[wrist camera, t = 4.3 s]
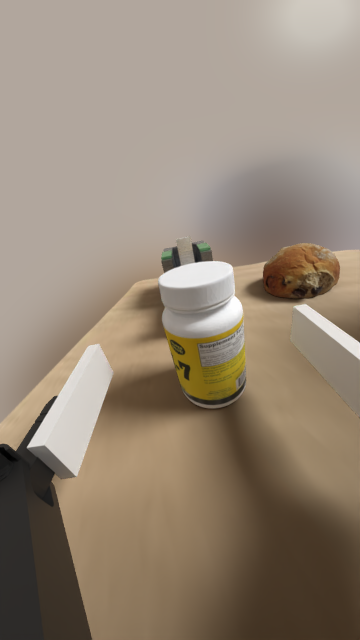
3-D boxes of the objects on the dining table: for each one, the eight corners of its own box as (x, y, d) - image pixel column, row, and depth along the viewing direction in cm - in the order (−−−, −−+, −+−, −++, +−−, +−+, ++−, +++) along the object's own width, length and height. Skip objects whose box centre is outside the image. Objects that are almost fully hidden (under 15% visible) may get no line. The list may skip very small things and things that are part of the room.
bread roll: (333, 301, 31) (344, 248, 30) (334, 302, 23) (349, 230, 22) (267, 295, 37) (274, 251, 36) (250, 295, 29) (257, 238, 28)
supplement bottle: (174, 370, 20) (145, 272, 15) (227, 352, 21) (216, 253, 16) (192, 422, 15) (158, 300, 10) (261, 395, 16) (261, 270, 10)
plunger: (220, 322, 24) (211, 243, 19) (180, 329, 24) (162, 254, 20) (207, 291, 33) (199, 232, 28) (178, 297, 33) (165, 240, 29)
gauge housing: (218, 296, 33) (212, 248, 29) (171, 305, 33) (159, 259, 29) (208, 277, 41) (203, 238, 38) (171, 285, 42) (162, 247, 38)
